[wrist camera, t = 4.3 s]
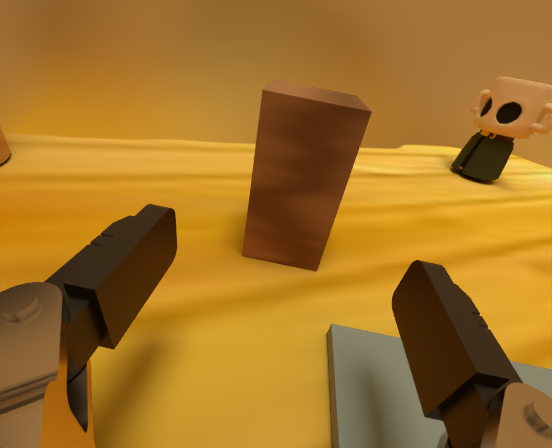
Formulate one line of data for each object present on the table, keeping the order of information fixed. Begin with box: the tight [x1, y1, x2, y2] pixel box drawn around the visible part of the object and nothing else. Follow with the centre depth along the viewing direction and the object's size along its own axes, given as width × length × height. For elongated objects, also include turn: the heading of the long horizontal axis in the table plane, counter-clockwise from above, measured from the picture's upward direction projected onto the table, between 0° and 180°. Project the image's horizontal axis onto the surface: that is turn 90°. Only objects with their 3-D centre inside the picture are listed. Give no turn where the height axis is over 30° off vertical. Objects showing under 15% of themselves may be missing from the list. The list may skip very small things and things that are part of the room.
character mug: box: [452, 77, 552, 180], centre depth 37 cm, size 11×7×13 cm, turn 18°
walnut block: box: [242, 80, 371, 271], centre depth 17 cm, size 5×5×10 cm
